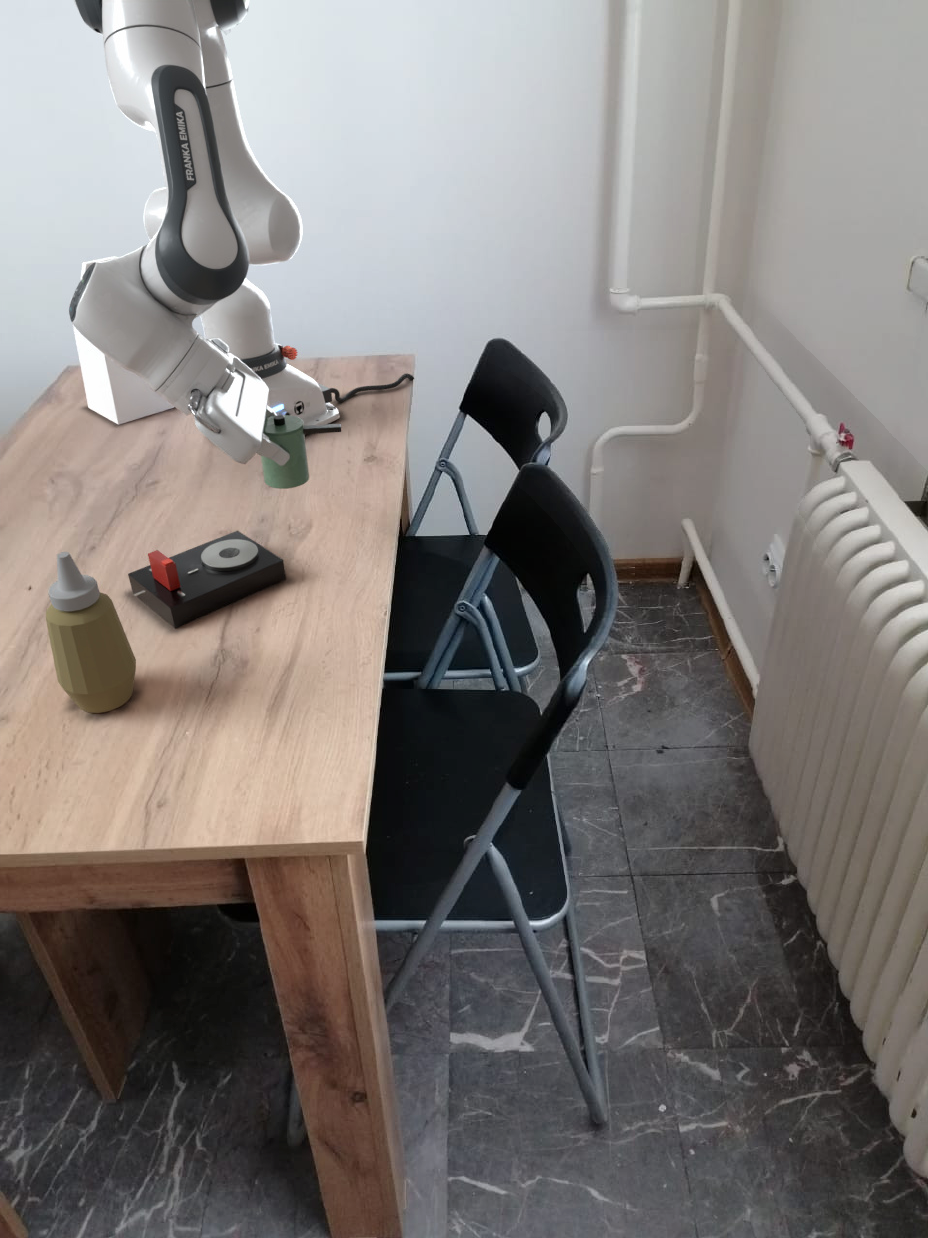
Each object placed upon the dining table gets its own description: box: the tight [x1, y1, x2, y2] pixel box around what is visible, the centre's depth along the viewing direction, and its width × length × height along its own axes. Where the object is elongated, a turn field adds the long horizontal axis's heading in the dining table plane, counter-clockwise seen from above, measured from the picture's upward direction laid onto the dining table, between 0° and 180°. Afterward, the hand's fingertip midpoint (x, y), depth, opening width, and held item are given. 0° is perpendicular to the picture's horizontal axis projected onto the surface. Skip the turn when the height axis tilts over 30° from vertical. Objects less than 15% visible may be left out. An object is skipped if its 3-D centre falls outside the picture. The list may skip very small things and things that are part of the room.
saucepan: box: [260, 415, 342, 490], centre depth 120 cm, size 9×8×8 cm
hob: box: [127, 530, 287, 629], centre depth 120 cm, size 18×11×3 cm, turn 133°
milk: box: [69, 255, 175, 426], centre depth 166 cm, size 12×12×26 cm
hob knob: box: [147, 549, 181, 591], centre depth 115 cm, size 4×1×4 cm, turn 43°
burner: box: [201, 539, 258, 571], centre depth 121 cm, size 7×7×1 cm
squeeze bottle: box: [45, 551, 137, 714], centre depth 98 cm, size 8×8×18 cm
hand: (287, 447), depth 120 cm, fingers closed on saucepan, 6 cm apart
